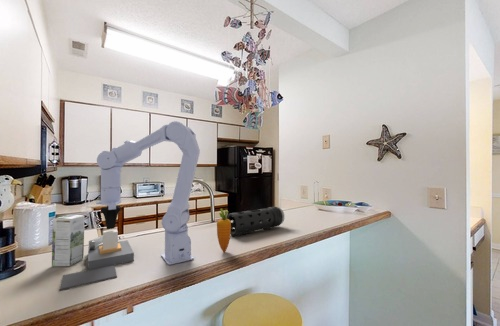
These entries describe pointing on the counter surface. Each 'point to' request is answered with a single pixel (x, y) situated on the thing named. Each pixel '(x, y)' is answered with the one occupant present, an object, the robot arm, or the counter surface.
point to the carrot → (223, 230)
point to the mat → (88, 277)
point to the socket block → (110, 256)
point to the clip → (95, 242)
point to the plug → (110, 242)
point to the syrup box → (68, 240)
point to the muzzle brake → (255, 220)
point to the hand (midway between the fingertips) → (110, 228)
